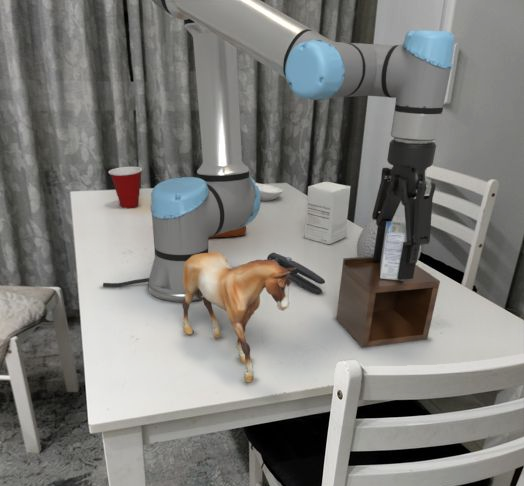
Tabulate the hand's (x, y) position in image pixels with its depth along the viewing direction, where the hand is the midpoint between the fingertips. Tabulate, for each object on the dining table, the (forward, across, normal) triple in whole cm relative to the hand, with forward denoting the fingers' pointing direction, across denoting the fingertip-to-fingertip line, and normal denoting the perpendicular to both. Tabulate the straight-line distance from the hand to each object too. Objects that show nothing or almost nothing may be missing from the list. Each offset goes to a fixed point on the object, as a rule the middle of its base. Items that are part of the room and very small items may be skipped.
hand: (392, 268), depth 98 cm
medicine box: (+1, 0, 0) cm, 1 cm away
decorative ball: (+13, +26, -14) cm, 32 cm away
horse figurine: (+13, +1, +30) cm, 33 cm away
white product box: (+13, +56, -11) cm, 59 cm away
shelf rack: (+13, 0, 0) cm, 13 cm away
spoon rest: (+13, +104, -1) cm, 104 cm away
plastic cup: (+13, +101, +42) cm, 110 cm away
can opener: (+13, +26, +9) cm, 31 cm away
